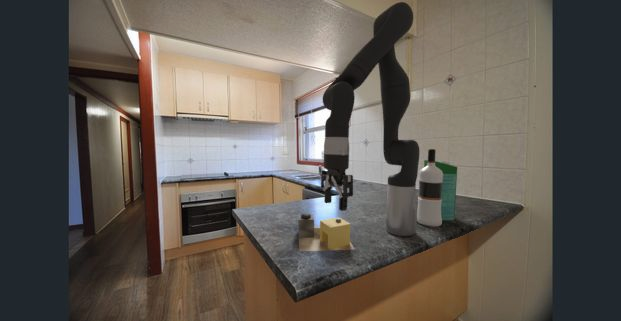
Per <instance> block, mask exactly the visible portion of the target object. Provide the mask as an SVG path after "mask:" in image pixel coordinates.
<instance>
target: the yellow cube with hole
mask: <svg viewBox="0 0 621 321" xmlns="http://www.w3.org/2000/svg"><path fill="white" fill-rule="evenodd" d="M319 221H320V222H319V226H320V241H321V242H326V241H328V248H329V249H335V248H339V247H343V246H347V245H350V242H351V223H350V222H348V221H346V220H345V219H343V218H341V217H333V218H327V219H321V220H319Z"/></svg>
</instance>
